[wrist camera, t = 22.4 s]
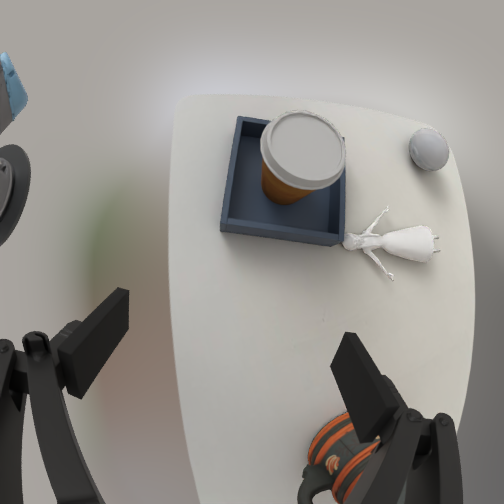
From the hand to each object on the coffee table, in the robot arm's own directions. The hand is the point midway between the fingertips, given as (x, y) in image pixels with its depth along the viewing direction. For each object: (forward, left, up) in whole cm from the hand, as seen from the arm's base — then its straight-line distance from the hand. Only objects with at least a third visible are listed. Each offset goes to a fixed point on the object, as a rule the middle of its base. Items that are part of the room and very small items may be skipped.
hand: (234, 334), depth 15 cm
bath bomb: (+32, +30, -20) cm, 48 cm away
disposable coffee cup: (+6, +18, -20) cm, 27 cm away
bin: (+6, +18, -20) cm, 28 cm away
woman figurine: (+24, +12, -20) cm, 34 cm away
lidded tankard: (+20, -22, -20) cm, 36 cm away
